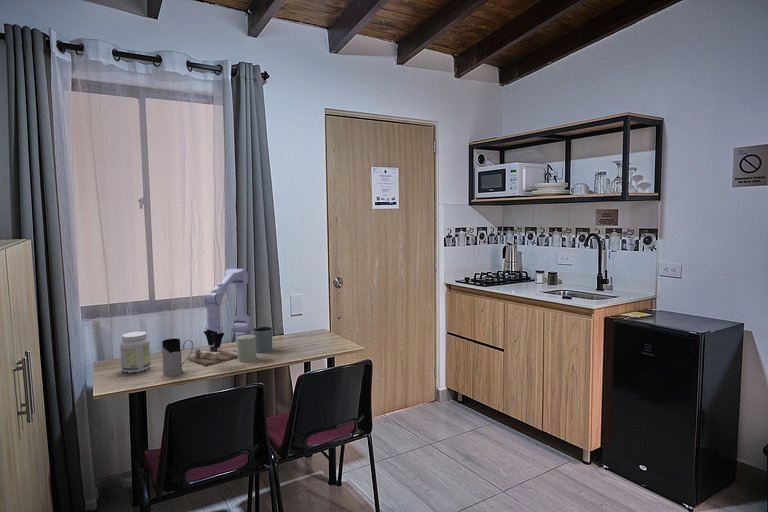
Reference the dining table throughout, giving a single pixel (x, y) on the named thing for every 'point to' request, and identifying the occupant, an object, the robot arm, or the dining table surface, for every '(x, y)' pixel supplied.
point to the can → (246, 348)
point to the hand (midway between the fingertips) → (214, 346)
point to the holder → (172, 356)
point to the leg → (209, 355)
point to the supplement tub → (135, 352)
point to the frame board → (222, 357)
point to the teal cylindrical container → (263, 339)
